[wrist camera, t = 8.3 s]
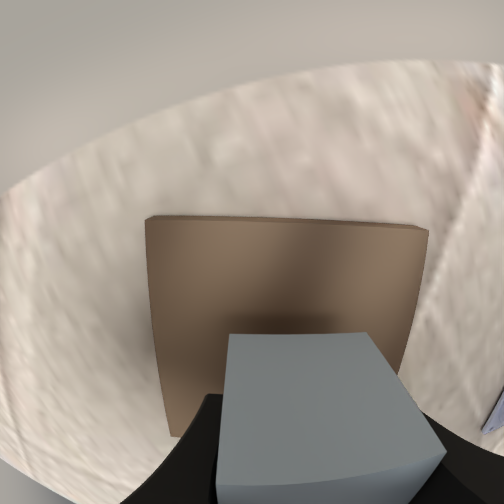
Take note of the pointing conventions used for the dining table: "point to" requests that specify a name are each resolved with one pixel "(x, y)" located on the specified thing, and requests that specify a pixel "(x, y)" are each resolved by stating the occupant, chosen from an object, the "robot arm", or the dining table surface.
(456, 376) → the dining table surface
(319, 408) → the slate block
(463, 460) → the robot arm
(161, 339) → the walnut base board
